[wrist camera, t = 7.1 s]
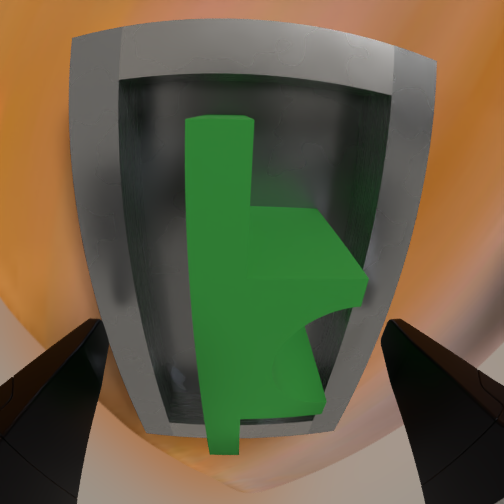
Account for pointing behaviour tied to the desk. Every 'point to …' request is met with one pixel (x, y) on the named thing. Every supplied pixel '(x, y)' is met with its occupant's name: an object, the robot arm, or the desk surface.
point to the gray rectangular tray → (262, 184)
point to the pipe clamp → (255, 286)
